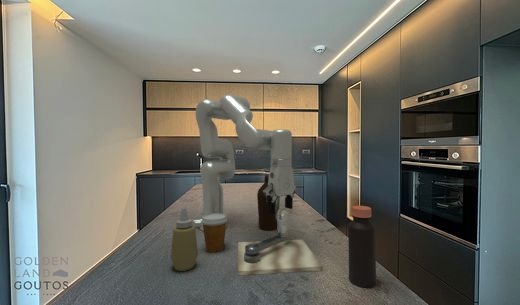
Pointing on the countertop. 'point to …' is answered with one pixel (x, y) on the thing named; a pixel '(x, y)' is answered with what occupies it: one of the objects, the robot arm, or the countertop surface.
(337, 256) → the countertop surface
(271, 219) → the olive oil
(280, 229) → the lever
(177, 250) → the squeeze bottle
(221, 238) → the disposable coffee cup
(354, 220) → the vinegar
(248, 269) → the lever board
